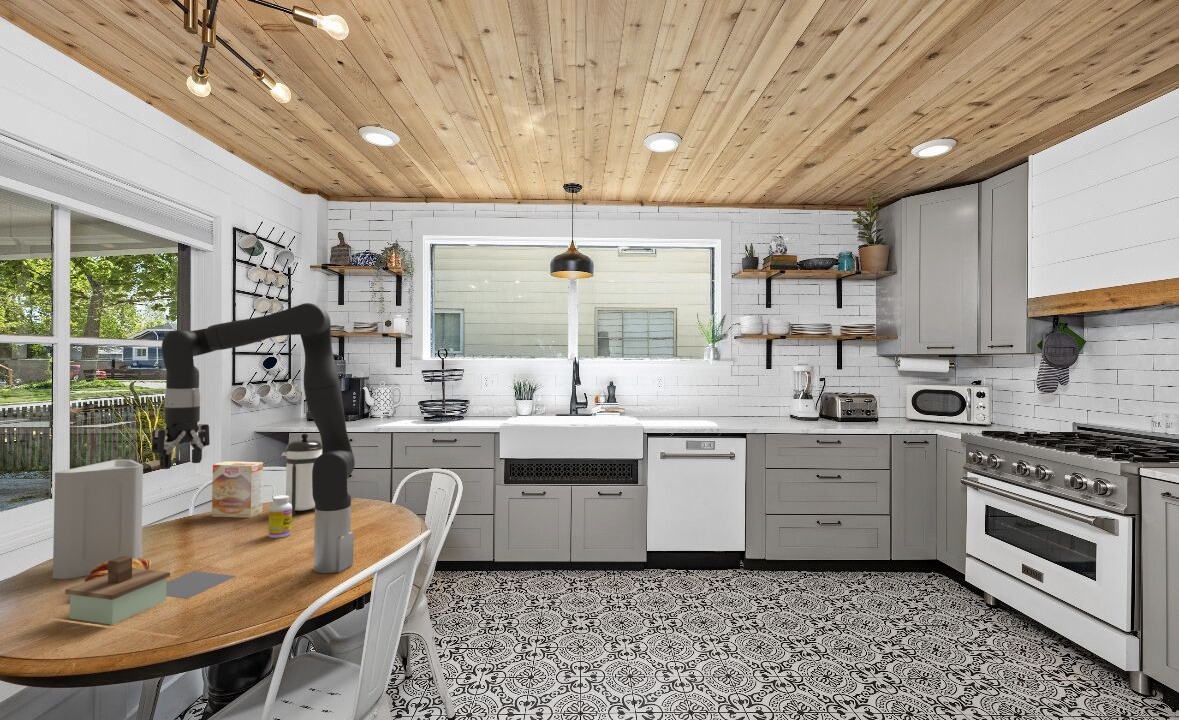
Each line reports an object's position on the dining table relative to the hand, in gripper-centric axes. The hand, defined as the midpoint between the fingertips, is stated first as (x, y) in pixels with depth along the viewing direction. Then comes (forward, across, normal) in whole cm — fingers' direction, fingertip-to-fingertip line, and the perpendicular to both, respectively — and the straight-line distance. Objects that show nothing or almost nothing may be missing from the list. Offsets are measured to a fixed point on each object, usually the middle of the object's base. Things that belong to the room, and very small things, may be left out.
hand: (181, 465), depth 142 cm
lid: (+24, -18, -4) cm, 30 cm away
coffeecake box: (+30, +52, +34) cm, 69 cm away
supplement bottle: (+30, +36, +1) cm, 47 cm away
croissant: (+30, -6, +12) cm, 33 cm away
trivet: (+30, -3, -7) cm, 31 cm away
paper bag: (+30, +3, +27) cm, 41 cm away
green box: (+30, -18, -4) cm, 35 cm away
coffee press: (+30, +64, +14) cm, 72 cm away
